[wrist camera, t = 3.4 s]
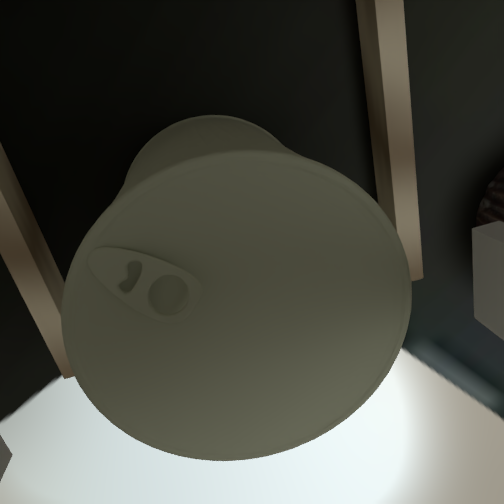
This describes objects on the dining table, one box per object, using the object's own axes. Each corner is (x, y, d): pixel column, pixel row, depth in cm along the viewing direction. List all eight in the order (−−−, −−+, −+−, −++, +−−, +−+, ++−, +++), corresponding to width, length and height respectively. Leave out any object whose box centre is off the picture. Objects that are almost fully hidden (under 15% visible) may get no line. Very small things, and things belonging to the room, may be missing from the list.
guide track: (-348, -514, 12) (-699, -909, 7) (325, -622, 13) (406, -1031, 8) (73, 355, 23) (46, 422, 19) (405, 263, 24) (457, 305, 20)
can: (177, 74, 19) (169, 58, 8) (337, 176, 22) (495, 268, 11) (90, 243, 21) (-12, 416, 10) (245, 315, 24) (298, 511, 13)
